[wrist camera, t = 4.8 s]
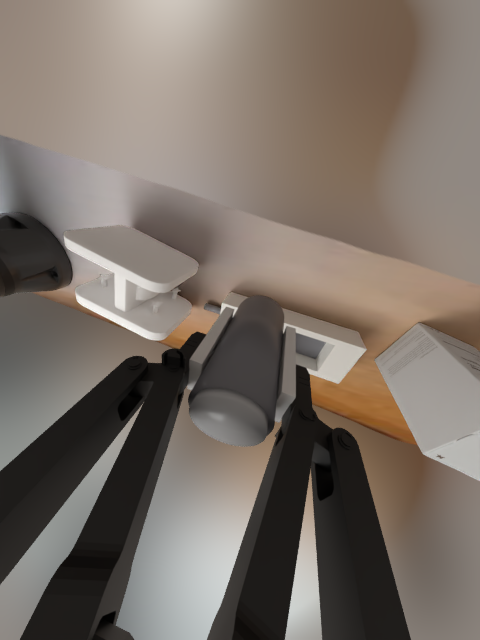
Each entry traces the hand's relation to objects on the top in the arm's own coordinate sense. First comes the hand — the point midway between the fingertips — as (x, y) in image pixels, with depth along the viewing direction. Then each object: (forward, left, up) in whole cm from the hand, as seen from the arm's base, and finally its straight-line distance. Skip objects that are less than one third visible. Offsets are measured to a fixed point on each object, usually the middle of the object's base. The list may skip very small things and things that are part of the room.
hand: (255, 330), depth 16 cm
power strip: (+9, -2, -16) cm, 18 cm away
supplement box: (+17, +20, -16) cm, 31 cm away
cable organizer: (-5, -19, -16) cm, 25 cm away
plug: (0, 0, -2) cm, 2 cm away
